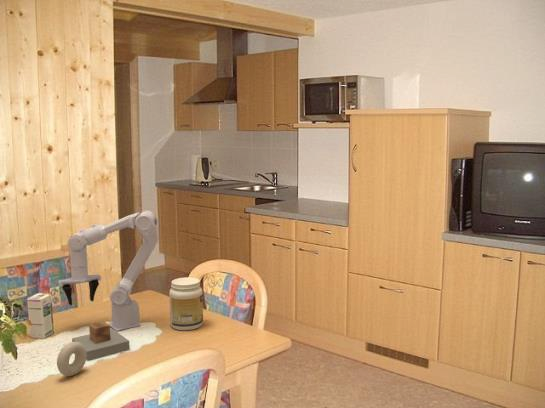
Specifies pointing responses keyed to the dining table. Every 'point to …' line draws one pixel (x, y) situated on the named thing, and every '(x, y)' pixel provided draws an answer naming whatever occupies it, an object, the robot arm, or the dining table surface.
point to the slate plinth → (103, 345)
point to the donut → (65, 355)
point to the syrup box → (40, 315)
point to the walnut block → (99, 332)
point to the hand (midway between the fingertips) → (81, 302)
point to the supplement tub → (186, 304)
